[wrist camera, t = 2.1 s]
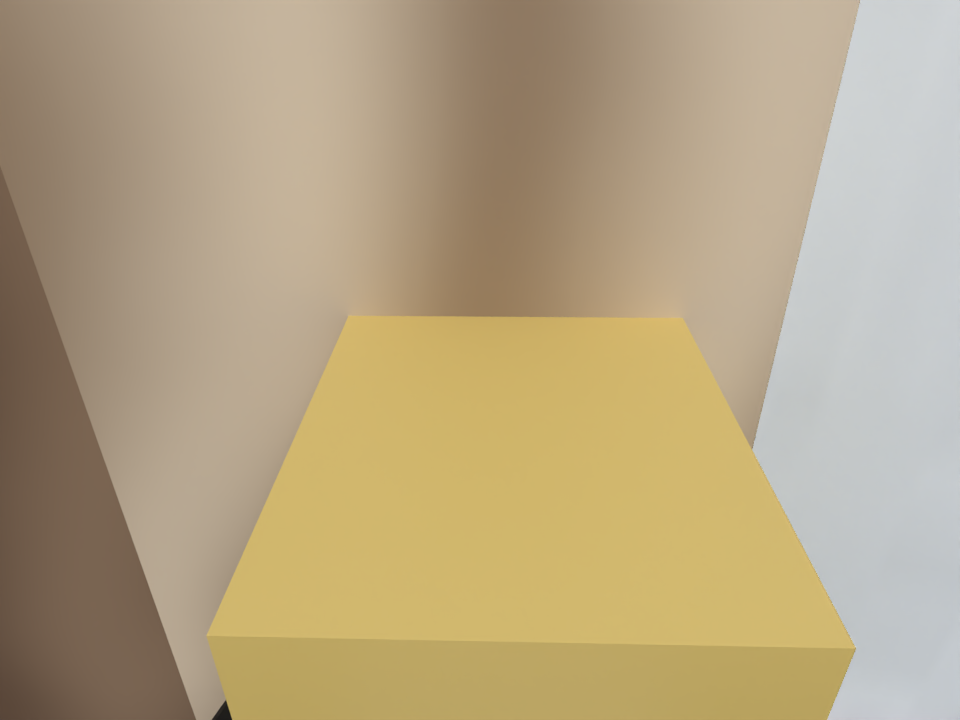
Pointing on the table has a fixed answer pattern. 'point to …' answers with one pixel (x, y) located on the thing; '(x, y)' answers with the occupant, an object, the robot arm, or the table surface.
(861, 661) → the table surface
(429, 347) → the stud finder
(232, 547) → the subfloor board
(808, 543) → the table surface
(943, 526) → the table surface
